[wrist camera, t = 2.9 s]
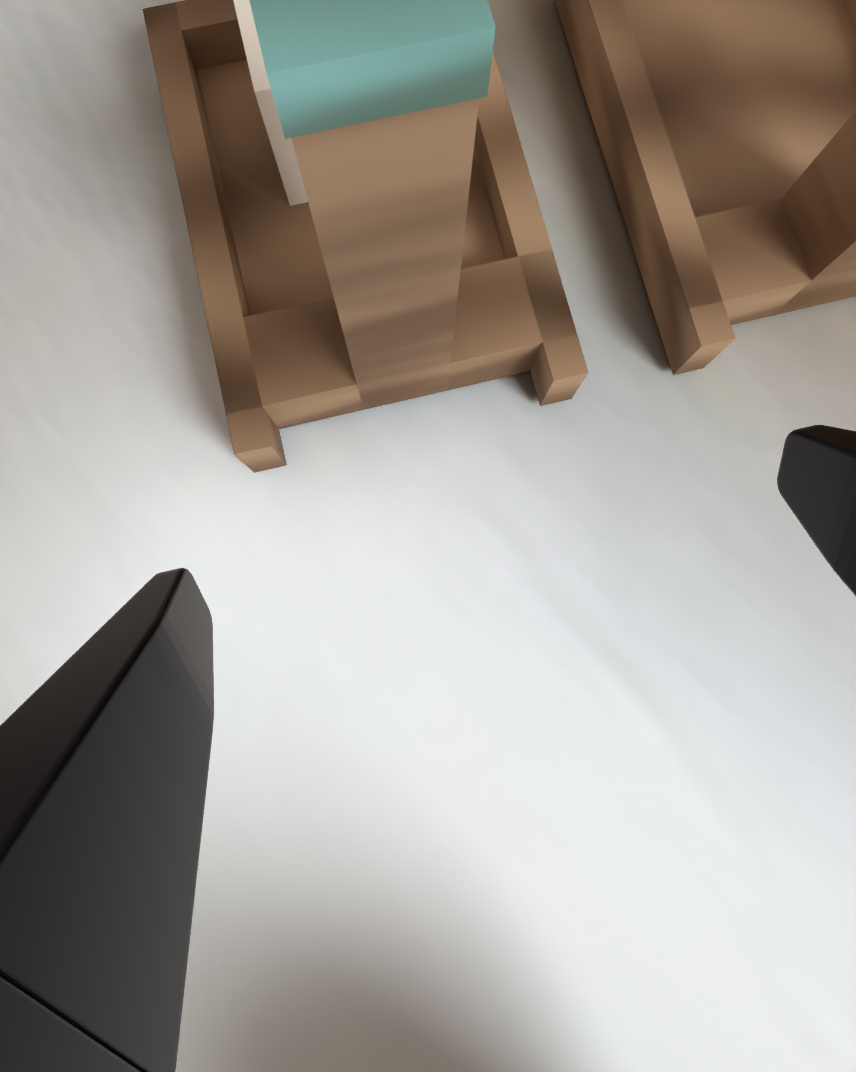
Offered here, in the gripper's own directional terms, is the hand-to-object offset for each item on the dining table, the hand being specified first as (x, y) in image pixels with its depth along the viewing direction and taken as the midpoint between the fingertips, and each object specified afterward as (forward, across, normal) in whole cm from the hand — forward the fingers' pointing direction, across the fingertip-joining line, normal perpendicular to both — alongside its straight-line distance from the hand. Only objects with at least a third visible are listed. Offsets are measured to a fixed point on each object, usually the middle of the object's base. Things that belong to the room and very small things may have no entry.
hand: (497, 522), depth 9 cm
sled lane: (+19, 0, -1) cm, 19 cm away
